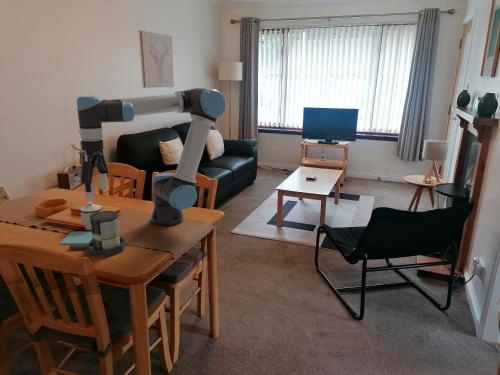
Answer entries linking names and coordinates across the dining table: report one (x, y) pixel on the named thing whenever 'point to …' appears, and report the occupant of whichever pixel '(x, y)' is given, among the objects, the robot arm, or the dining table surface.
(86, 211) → the teacup with lid
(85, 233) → the teal pad
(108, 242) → the coffee can
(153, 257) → the dining table surface
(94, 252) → the ring
